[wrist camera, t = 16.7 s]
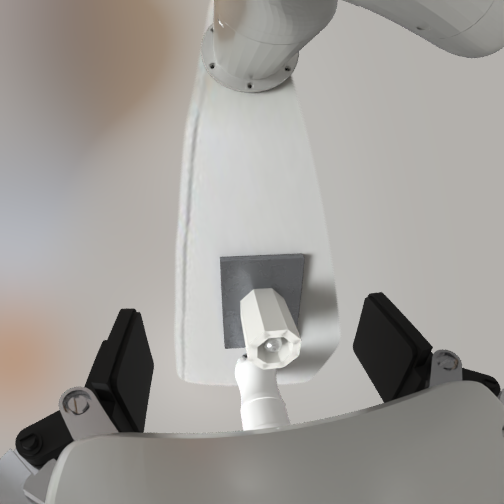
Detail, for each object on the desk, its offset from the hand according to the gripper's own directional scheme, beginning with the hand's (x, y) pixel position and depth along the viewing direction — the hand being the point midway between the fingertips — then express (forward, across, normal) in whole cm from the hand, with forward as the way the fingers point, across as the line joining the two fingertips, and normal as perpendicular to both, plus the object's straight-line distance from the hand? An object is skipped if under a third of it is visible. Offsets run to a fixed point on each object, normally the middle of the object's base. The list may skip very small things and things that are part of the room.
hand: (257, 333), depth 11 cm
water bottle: (+28, -4, +30) cm, 42 cm away
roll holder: (+28, -5, +17) cm, 33 cm away
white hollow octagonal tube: (+27, -5, +17) cm, 32 cm away
